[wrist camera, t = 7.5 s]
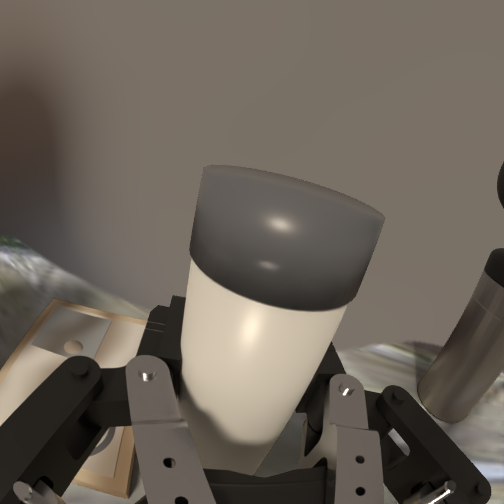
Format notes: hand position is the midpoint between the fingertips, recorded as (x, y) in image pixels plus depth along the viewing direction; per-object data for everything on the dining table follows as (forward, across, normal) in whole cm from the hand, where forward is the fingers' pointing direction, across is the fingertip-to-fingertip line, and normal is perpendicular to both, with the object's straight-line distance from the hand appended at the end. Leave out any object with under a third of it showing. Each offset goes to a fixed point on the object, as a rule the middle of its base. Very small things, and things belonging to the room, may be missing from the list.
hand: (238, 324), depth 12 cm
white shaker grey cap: (-3, 0, +8) cm, 8 cm away
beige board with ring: (+6, +12, +15) cm, 20 cm away
